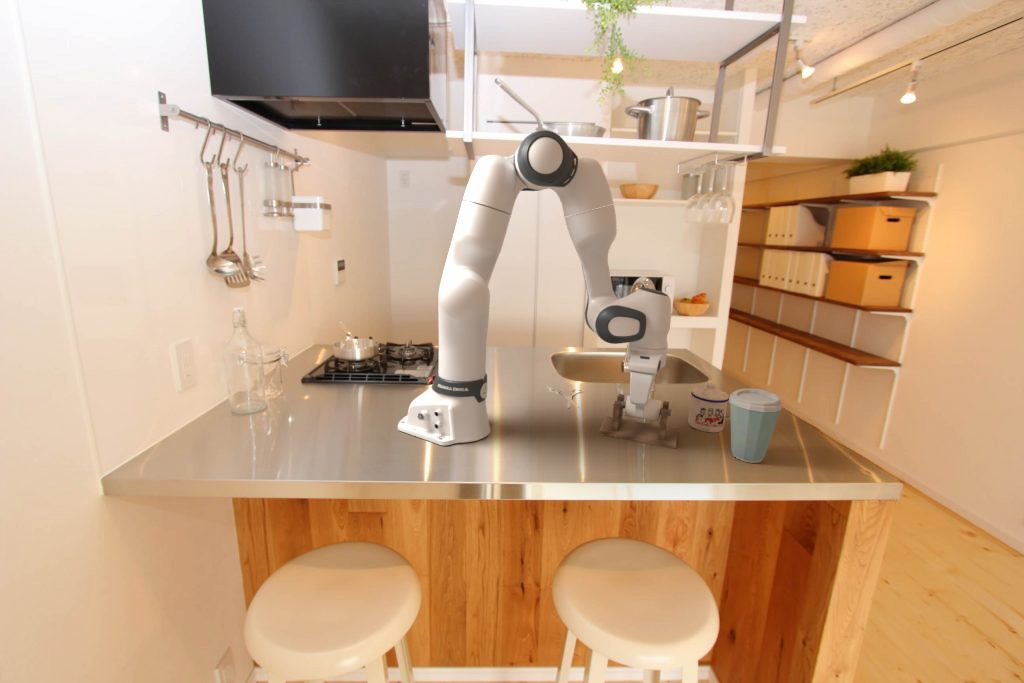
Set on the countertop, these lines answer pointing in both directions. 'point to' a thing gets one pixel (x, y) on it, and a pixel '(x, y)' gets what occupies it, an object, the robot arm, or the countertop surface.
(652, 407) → the paper roll
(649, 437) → the roll holder
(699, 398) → the teacup with lid
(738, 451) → the disposable coffee cup
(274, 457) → the countertop surface
